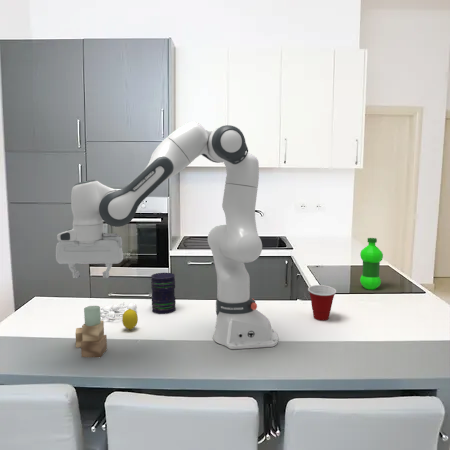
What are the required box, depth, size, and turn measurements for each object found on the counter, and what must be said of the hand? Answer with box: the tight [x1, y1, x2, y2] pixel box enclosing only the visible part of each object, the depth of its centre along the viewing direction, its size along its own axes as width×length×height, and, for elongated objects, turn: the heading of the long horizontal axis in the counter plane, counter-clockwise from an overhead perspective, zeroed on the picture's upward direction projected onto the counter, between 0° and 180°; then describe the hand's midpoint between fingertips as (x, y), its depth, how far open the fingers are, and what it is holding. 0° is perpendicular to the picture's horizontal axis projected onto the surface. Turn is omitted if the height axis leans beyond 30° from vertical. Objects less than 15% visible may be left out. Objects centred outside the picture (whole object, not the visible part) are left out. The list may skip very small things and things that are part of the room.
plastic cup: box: [307, 284, 337, 321], centre depth 161 cm, size 11×11×12 cm
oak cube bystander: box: [75, 327, 83, 349], centre depth 137 cm, size 5×5×5 cm
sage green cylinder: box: [83, 305, 102, 326], centre depth 129 cm, size 5×5×5 cm
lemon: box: [121, 309, 139, 331], centre depth 150 cm, size 6×6×8 cm
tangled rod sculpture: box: [99, 302, 138, 321], centre depth 165 cm, size 19×14×4 cm
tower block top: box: [81, 320, 105, 342], centre depth 130 cm, size 5×5×5 cm
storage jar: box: [150, 272, 176, 315], centre depth 171 cm, size 10×10×15 cm
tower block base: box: [80, 334, 108, 358], centre depth 130 cm, size 6×6×5 cm
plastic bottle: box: [359, 237, 384, 291], centre depth 202 cm, size 10×10×25 cm
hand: (91, 277), depth 127 cm, fingers open, 8 cm apart
